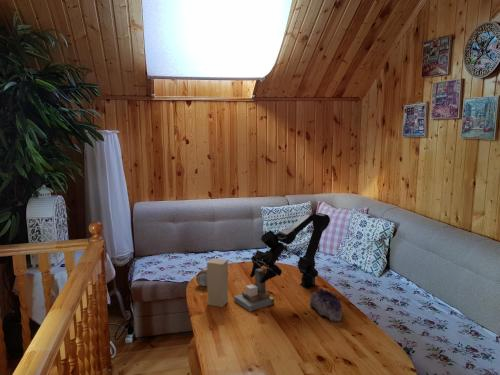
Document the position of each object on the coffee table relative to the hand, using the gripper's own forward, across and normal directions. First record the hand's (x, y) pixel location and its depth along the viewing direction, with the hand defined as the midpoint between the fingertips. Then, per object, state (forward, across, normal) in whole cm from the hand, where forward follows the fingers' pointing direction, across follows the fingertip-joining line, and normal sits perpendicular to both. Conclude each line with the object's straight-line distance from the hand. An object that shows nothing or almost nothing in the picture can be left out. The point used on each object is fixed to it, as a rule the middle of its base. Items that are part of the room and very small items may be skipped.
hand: (255, 279), depth 193 cm
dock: (+9, 0, +7) cm, 11 cm away
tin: (+14, -29, +2) cm, 32 cm away
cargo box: (+6, 0, +3) cm, 7 cm away
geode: (-7, +27, +23) cm, 36 cm away
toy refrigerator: (+19, -9, -3) cm, 21 cm away
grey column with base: (+6, 0, +6) cm, 9 cm away
